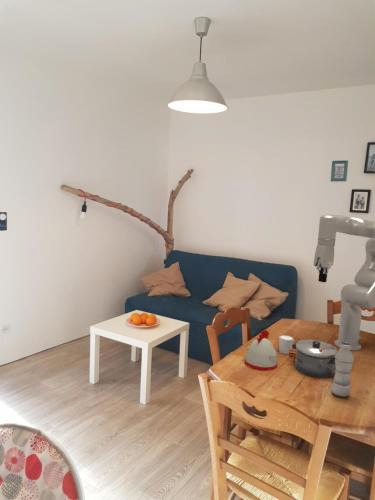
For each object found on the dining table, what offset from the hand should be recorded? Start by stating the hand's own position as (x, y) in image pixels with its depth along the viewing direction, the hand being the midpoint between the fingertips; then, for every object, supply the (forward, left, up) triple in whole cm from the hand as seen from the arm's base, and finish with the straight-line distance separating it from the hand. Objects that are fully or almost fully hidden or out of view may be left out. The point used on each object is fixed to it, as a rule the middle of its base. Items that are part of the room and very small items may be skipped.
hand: (322, 281), depth 177 cm
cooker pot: (+16, +11, -35) cm, 40 cm away
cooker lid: (+16, +9, -26) cm, 32 cm away
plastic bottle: (+28, +27, -35) cm, 53 cm away
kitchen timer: (+31, -8, -35) cm, 48 cm away
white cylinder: (+10, -10, -35) cm, 38 cm away
